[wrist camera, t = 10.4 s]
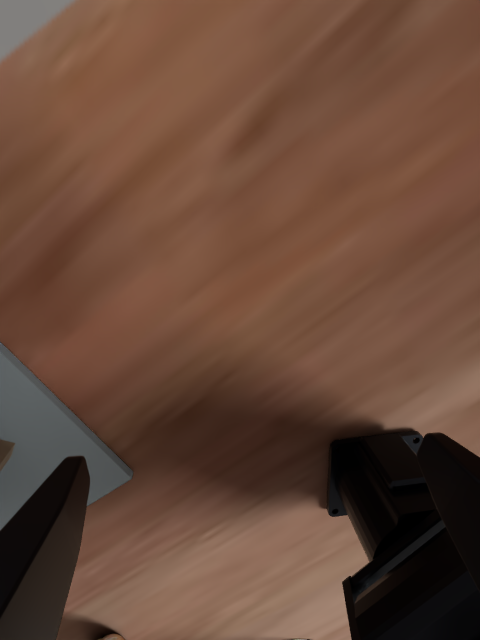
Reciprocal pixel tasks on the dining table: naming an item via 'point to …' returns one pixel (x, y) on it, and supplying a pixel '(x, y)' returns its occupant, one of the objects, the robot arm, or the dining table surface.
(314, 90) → the dining table surface
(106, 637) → the tin
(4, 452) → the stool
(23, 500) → the mat
